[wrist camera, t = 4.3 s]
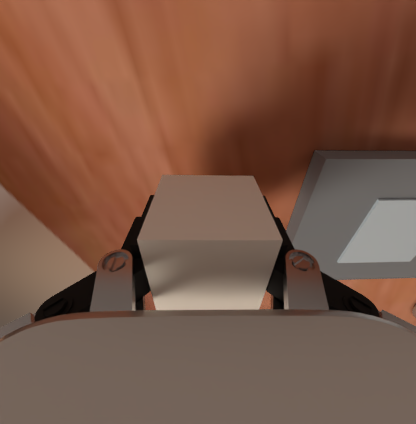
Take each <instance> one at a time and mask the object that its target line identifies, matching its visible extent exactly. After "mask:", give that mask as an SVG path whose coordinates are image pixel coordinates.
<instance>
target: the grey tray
mask: <svg viewBox="0 0 416 424" xmlns="http://www.w3.org/2000/svg"><path fill="white" fill-rule="evenodd" d="M286 233H287V235H288V237H289V239H290V241H291V243H292V245H293V247H294V249H297V250H303V251H306V252H308V253H309V254H311V255H312V256H313V257H314V258H315V259H316V260H317V262H318V264H319V268H320V271H321V272H323V273H325V274H327V275H328V276H330V277H332V278H334V279H335V280H347V279H387V278H416V151H331V150H315V151H314V153H313V156H312V159H311V162H310V165H309V168H308V170H307V173H306V176H305V179H304V182H303V184H302V187H301V190H300V193H299V196H298V199H297V201H296V204H295V207H294V210H293V213H292V216H291V218H290V221H289V224H288V227H287V230H286Z"/></svg>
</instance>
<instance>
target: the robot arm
mask: <svg viewBox="0 0 416 424" xmlns="http://www.w3.org/2000/svg"><path fill="white" fill-rule="evenodd" d="M153 198H154V195H150V197H149V200H148V202H147V205H146V207H145V209H144V212H143V214H142V217H136V218H135V220H134V222H133V224H132V226H131V229H130V231H129V233H128V235H127V237H126V240H125V242H124V244H123V246H122V248H121V249H119V250H114V251H111V252H109V253H107V254H106V255H104V256H103V257H102V258H101V260H100V261H99V263H98V267H97V271H95V272H94V273H92V274H90V275H89V276H87V277H85V278H83V279H82V280H80V281H79V282H76V283H75V284H73V285H71V286H70V287H68V288H66V289H64V290H63V291H61V292H59V293H57V294H56V295H54V296H52V297H51V298H49V299H48V300H46V301H45V302H44V303H43V304H42V305H41V306H40V307H39V309H38V310H37V312H36V313H35V314H31V313H28V314H26V315H24V316H22V317H20V318H18V319H16V320H14V321H12V322H10V323H9V324H6V325H5V326H3V327H1V328H0V424H416V326H414V325H412V324H410V323H408V322H406V321H404V320H402V319H400V318H398V317H396V316H394V315H392V314H390V313H388V312H386V311H384V310H382V311H381V312H380V311H378V309H377V308H376V307H375V305H374V304H373V303H372V302H371V301H370V300H369V299H368V298H366V297H365V296H363V295H362V294H360V293H358V292H356V291H355V290H353V289H351V288H349V287H348V286H346V285H344V284H342V283H341V282H339V281H337V280H335V279H334V278H332V277H330V276H328V275H327V274H325V273H323V272H321V271H320V268H319V264H318V262H317V260H316V259H315V258H314V257H313V256H312V255H311V254H309V253H308V252H306V251H303V250H297V249H294V247H293V245H292V243H291V241H290V239H289V237H288V235H287V233H286V231H285V229H284V227H283V225H282V223H281V220H280V219H279V218H278V217H275V216H274V214H273V212H272V210H271V208H270V206H269V204H268V202H267V200H266V197H265V196H263V198H264V200H265V202H266V204H267V207H268V209H269V211H270V213H271V215H272V218H273V220H274V222H275V224H276V226H277V228H278V231H279V233H280V235H281V237H282V239H283V241H282V244H281V247H280V250H279V253H278V256H277V259H276V262H275V265H274V268H273V270H272V273H271V276H270V279H269V282H268V285H267V288H266V290H267V292H269V293H270V294H271V309H243V310H145V295H146V294H147V293H149V291H151V289H150V285H149V282H148V278H147V275H146V271H145V267H144V264H143V260H142V256H141V253H140V249H139V246H138V242H137V239H138V236H139V233H140V231H141V228H142V226H143V223H144V221H145V218H146V216H147V213H148V210H149V208H150V205H151V203H152V200H153ZM412 313H413V316H414V317H415V318H416V305H415V306H414V308H413V312H412Z"/></svg>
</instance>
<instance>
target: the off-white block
mask: <svg viewBox="0 0 416 424" xmlns="http://www.w3.org/2000/svg"><path fill="white" fill-rule="evenodd" d="M282 241H283V239H282V237H281V235H280V233H279V231H278V228H277V226H276V224H275V222H274V220H273V218H272V215H271V213H270V211H269V209H268V207H267V204H266V202H265V200H264V198H263V196H262V193H261V191H260V189H259V187H258V185H257V183H256V180H255V178H254V176H223V175H162V177H161V180H160V182H159V185H158V187H157V190H156V192H155V195H154V198H153V200H152V203H151V205H150V208H149V210H148V213H147V216H146V218H145V221H144V223H143V226H142V228H141V231H140V233H139V236H138V239H137V242H138V246H139V249H140V253H141V256H142V260H143V264H144V267H145V271H146V275H147V278H148V282H149V285H150V289H151V293H152V296H153V300H154V303H155V307H156V310H243V309H259V308H260V305H261V302H262V299H263V297H264V294H265V291H266V288H267V285H268V282H269V279H270V276H271V273H272V270H273V268H274V265H275V262H276V259H277V256H278V253H279V250H280V247H281V244H282Z"/></svg>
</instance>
